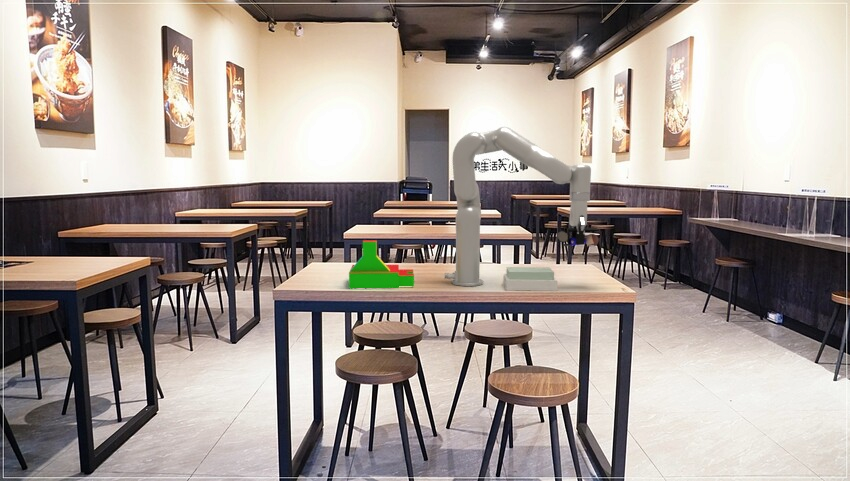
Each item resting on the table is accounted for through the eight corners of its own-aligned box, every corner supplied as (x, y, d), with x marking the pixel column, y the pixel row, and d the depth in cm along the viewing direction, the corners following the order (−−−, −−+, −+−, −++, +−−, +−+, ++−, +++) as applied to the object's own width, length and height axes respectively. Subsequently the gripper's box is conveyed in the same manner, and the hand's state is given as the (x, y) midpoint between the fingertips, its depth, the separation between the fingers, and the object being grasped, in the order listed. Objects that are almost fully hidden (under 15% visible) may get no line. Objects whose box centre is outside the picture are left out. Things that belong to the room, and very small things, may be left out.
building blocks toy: (414, 289, 225) (414, 242, 222) (349, 289, 223) (348, 242, 221) (412, 280, 243) (412, 236, 241) (352, 280, 242) (352, 236, 240)
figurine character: (559, 250, 224) (600, 247, 222) (557, 230, 223) (598, 227, 221) (558, 248, 231) (597, 245, 228) (556, 229, 230) (596, 225, 228)
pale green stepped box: (506, 290, 221) (506, 272, 220) (503, 283, 234) (503, 266, 233) (556, 290, 220) (557, 272, 220) (551, 284, 233) (551, 267, 232)
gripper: (565, 196, 233) (563, 240, 235) (574, 198, 216) (572, 245, 218) (584, 196, 233) (582, 240, 235) (595, 198, 215) (592, 246, 217)
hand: (577, 242), depth 226 cm, fingers closed on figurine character, 6 cm apart
